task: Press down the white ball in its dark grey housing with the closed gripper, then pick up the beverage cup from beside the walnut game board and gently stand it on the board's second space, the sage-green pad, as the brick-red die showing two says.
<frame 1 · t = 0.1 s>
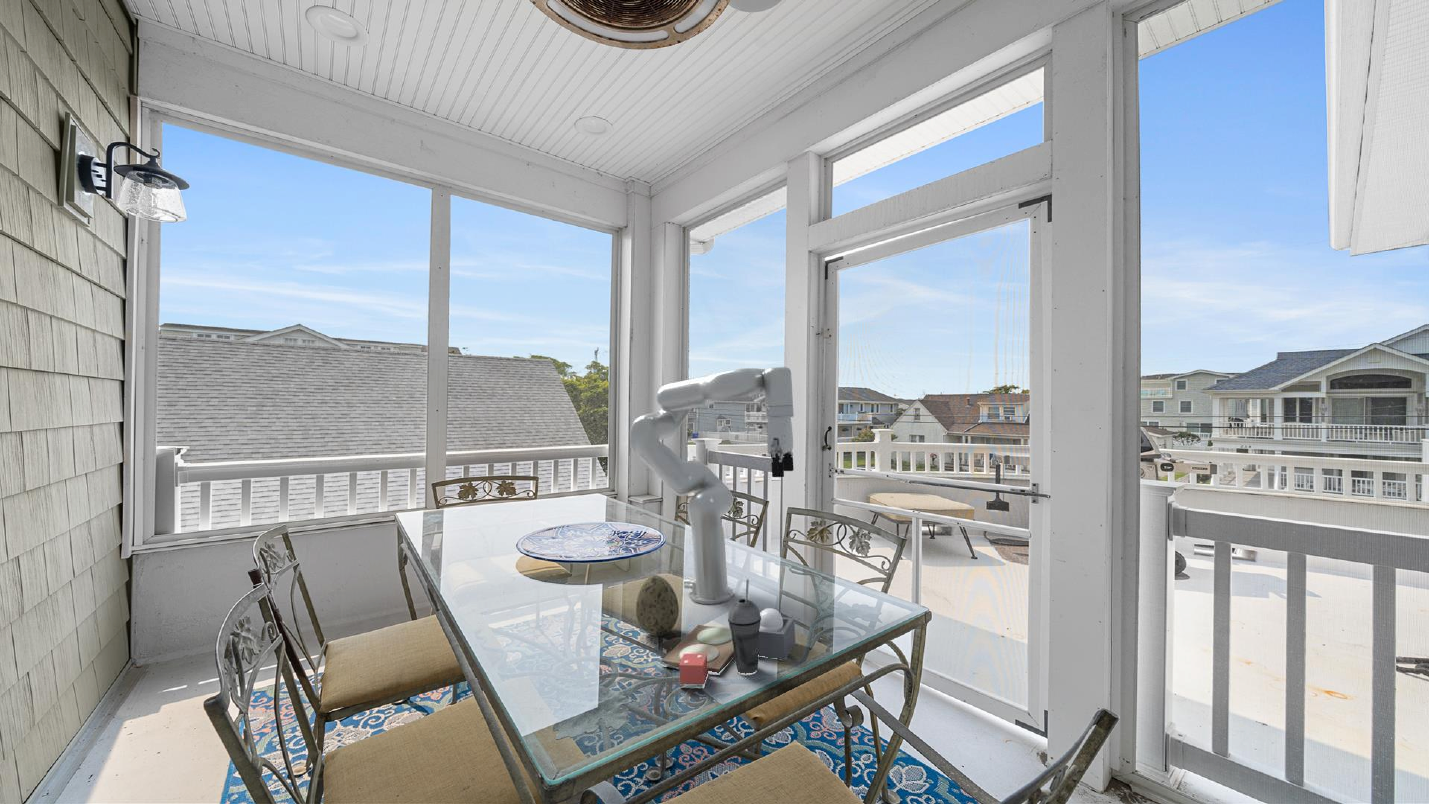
hand: (783, 473, 160), 37 cm above the table, tool pointing down, fingers open, 9 cm apart
die: (694, 682, 123), on the table
beverage cup: (747, 671, 126), on the table
decorative egg: (659, 634, 148), on the table
white ball: (770, 621, 136), point 7 cm above the table, slide at 0.0 cm
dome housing: (771, 649, 136), on the table
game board: (708, 651, 137), on the table
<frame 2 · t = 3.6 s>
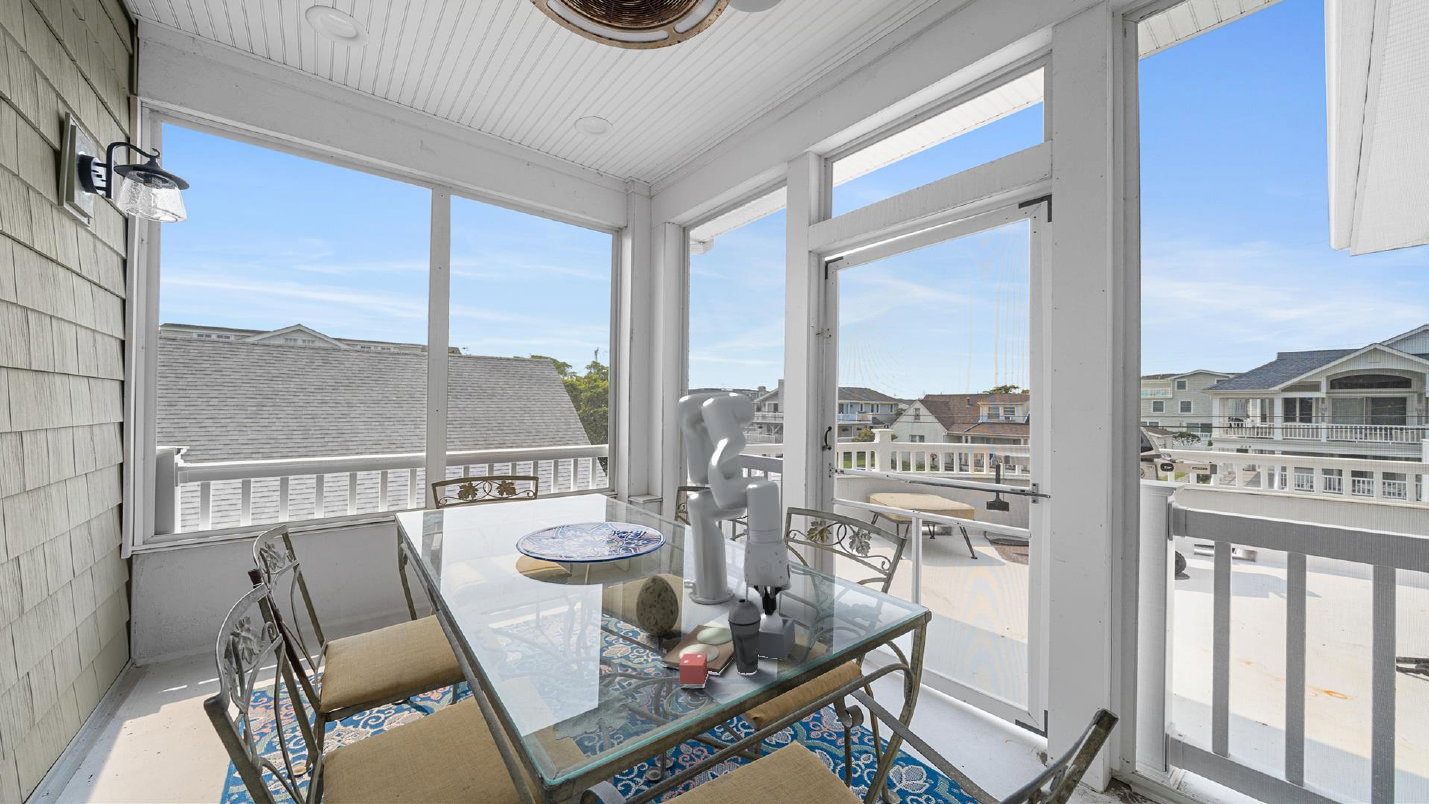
hand: (770, 612, 135), 9 cm above the table, tool pointing down, fingers closed
white ball: (770, 625, 136), point 6 cm above the table, slide at 0.8 cm, touching gripper
everything else where it was.
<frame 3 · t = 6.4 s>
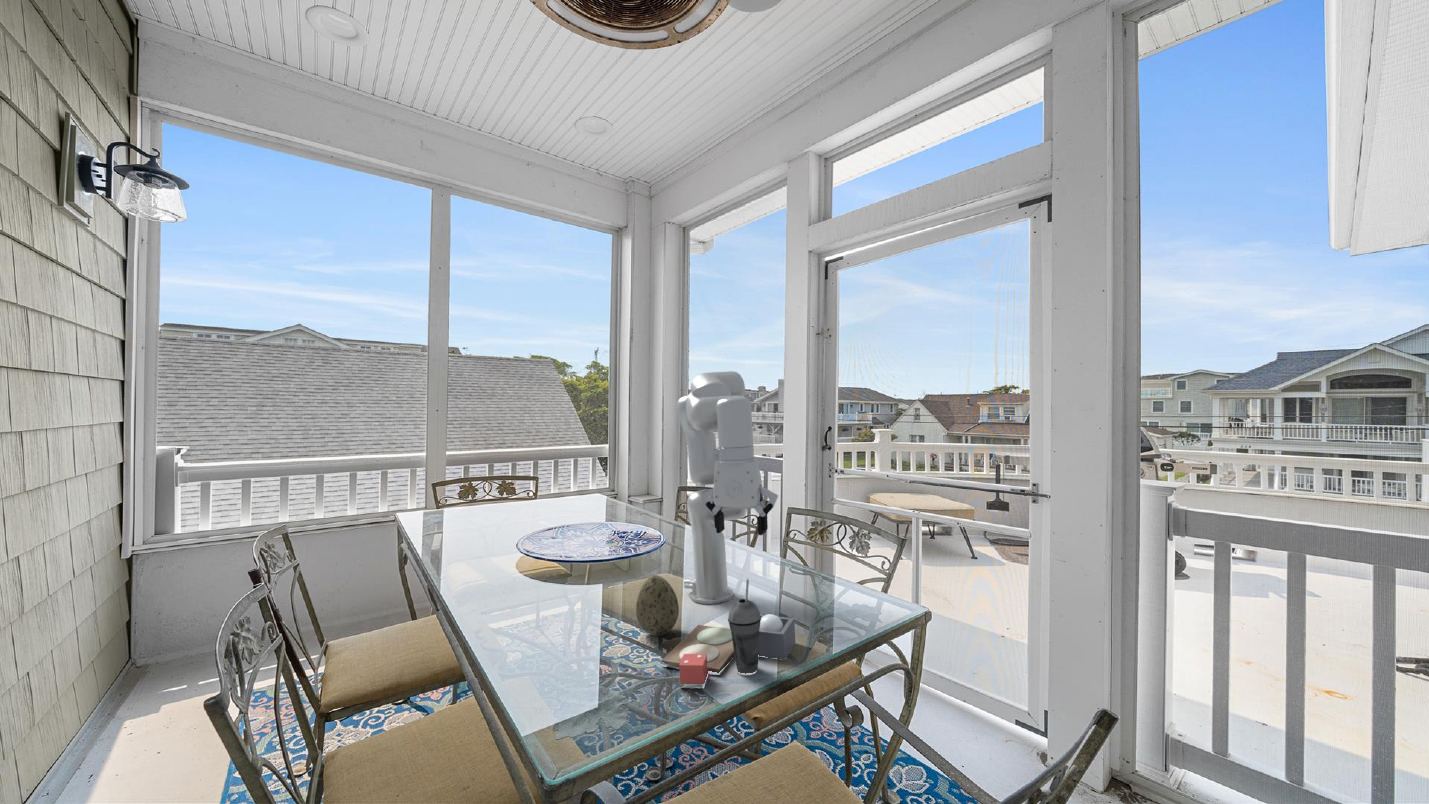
hand: (741, 532, 126), 30 cm above the table, tool pointing down, fingers open, 9 cm apart
white ball: (770, 627, 136), point 5 cm above the table, slide at 1.4 cm
everything else where it was.
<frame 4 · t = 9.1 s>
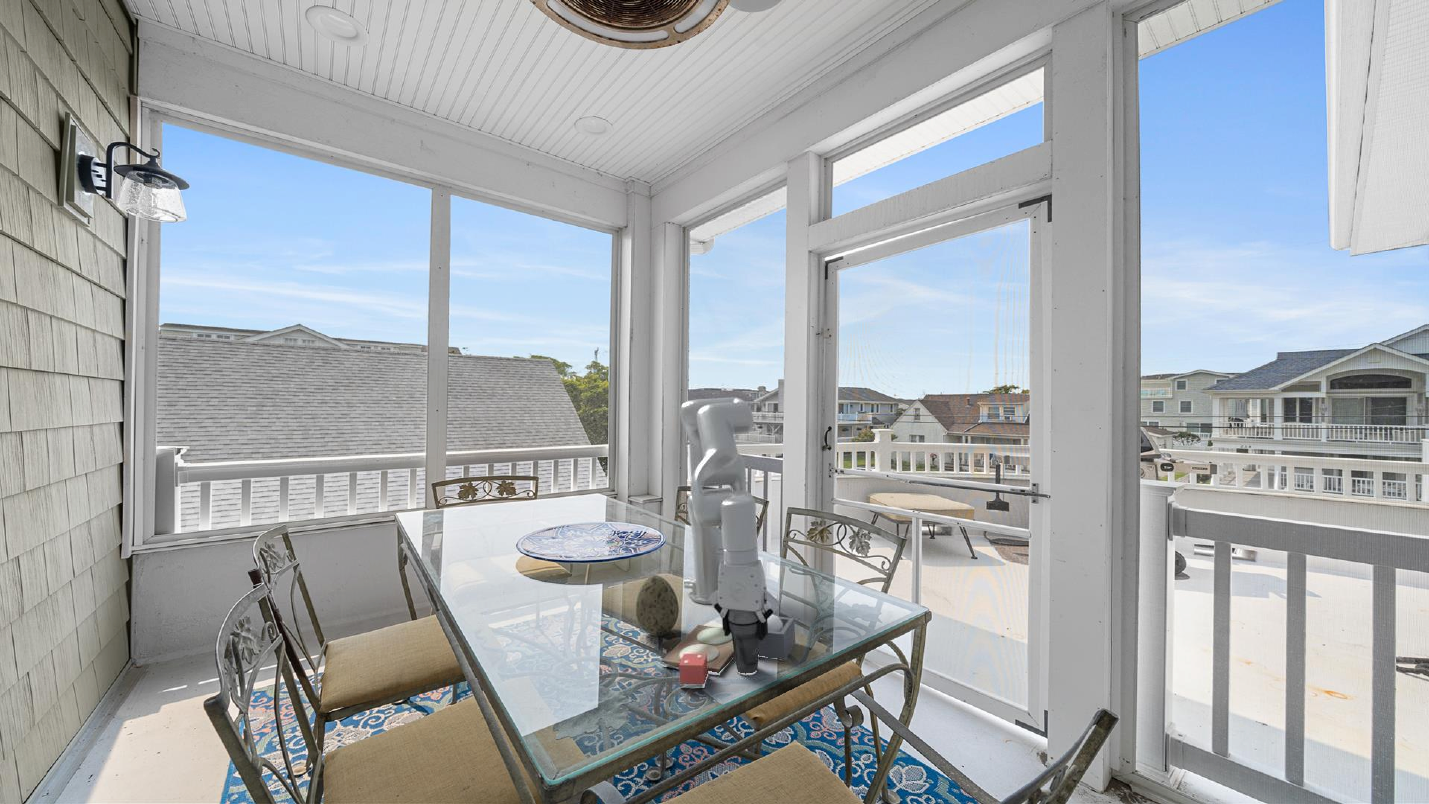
hand: (745, 635, 126), 8 cm above the table, tool pointing down, fingers closed on beverage cup, 7 cm apart
beverage cup: (747, 671, 126), on the table, touching gripper
everything else where it was.
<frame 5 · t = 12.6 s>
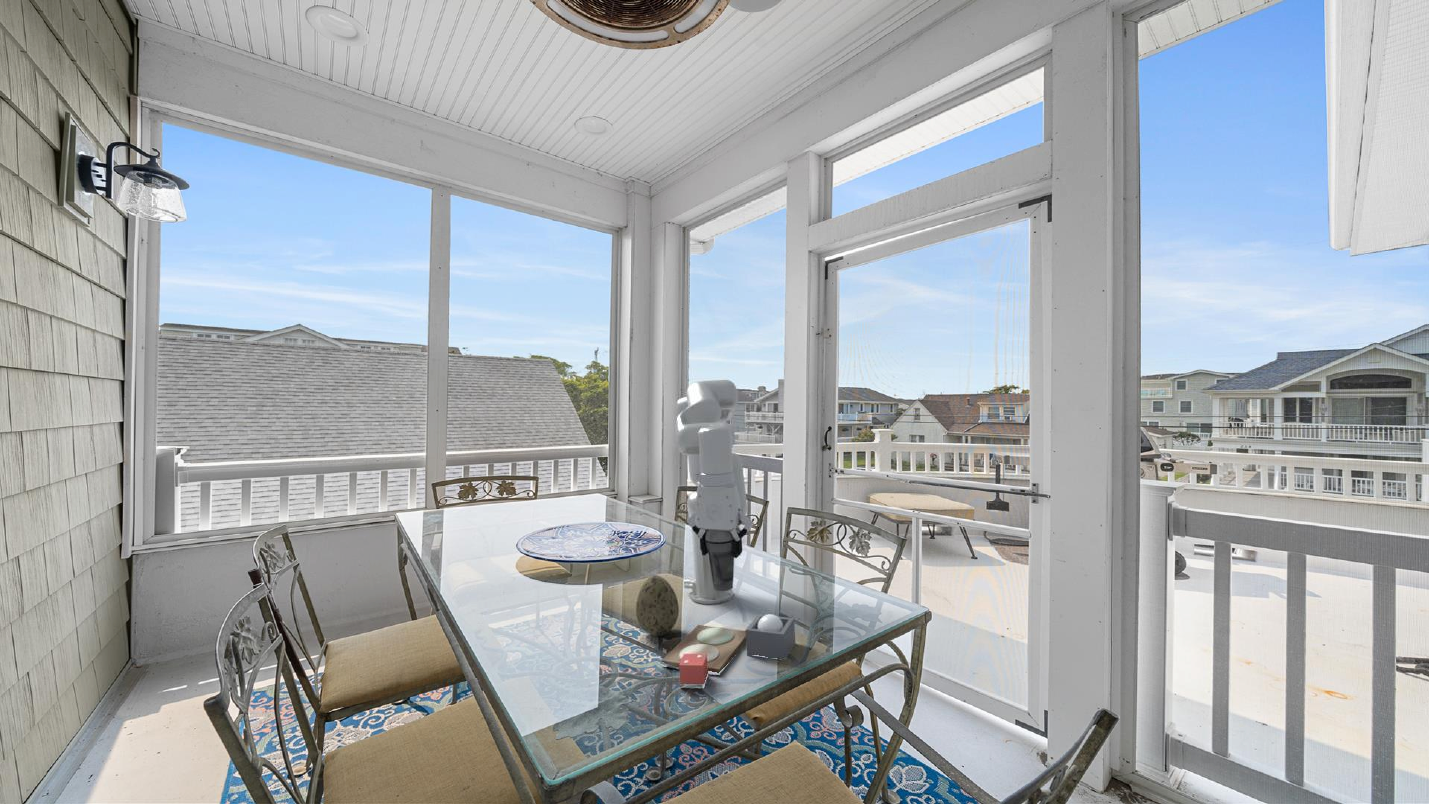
hand: (721, 554, 135), 23 cm above the table, tool pointing down, fingers closed on beverage cup, 7 cm apart
beverage cup: (723, 588, 135), point 15 cm above the table, touching gripper
everything else where it was.
when the fingers open (11 cm above the table, at t = 16.2 s): beverage cup stays where it is, resting on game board.
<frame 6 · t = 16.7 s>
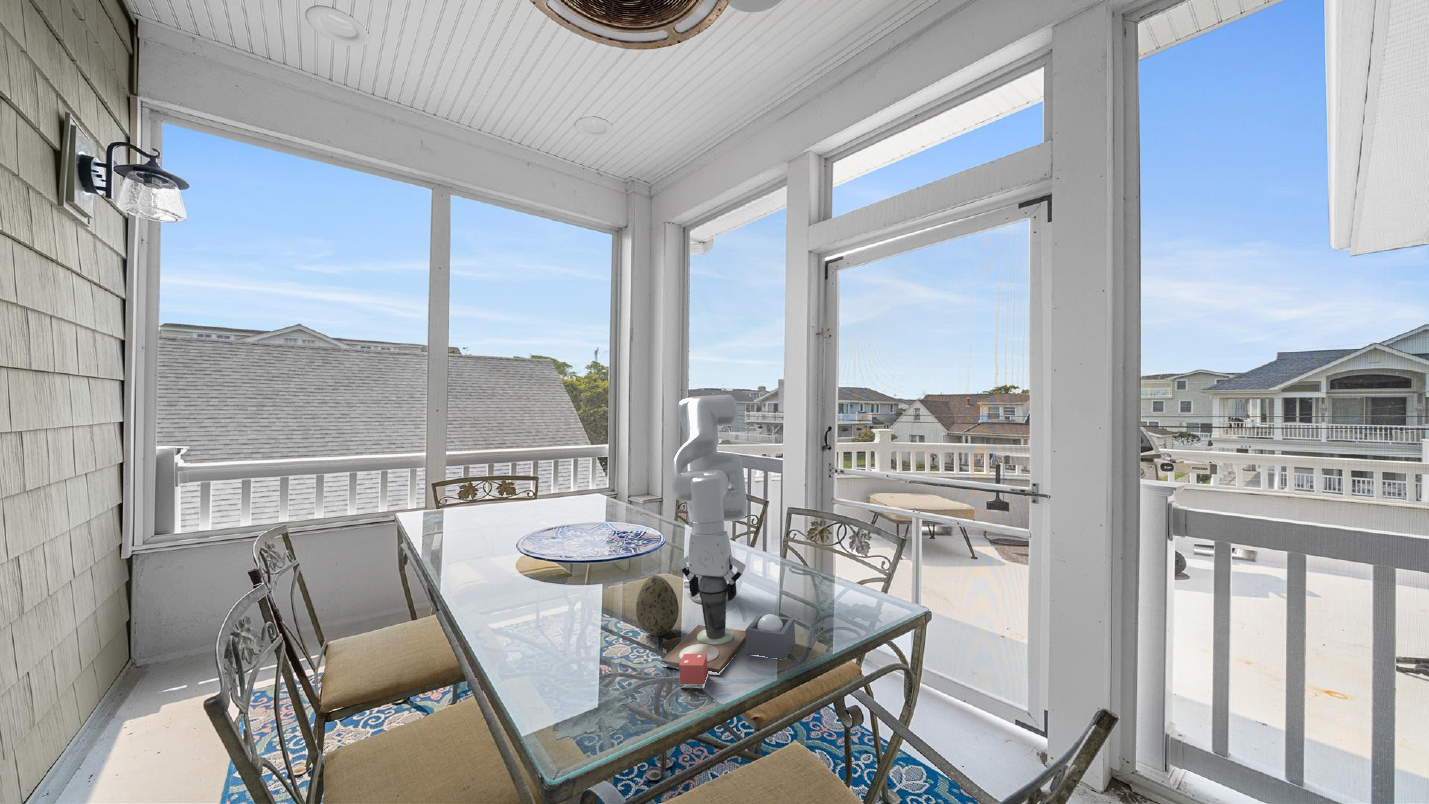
hand: (713, 596, 140), 11 cm above the table, tool pointing down, fingers open, 9 cm apart
beverage cup: (715, 635, 141), point 2 cm above the table, touching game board
everything else where it was.
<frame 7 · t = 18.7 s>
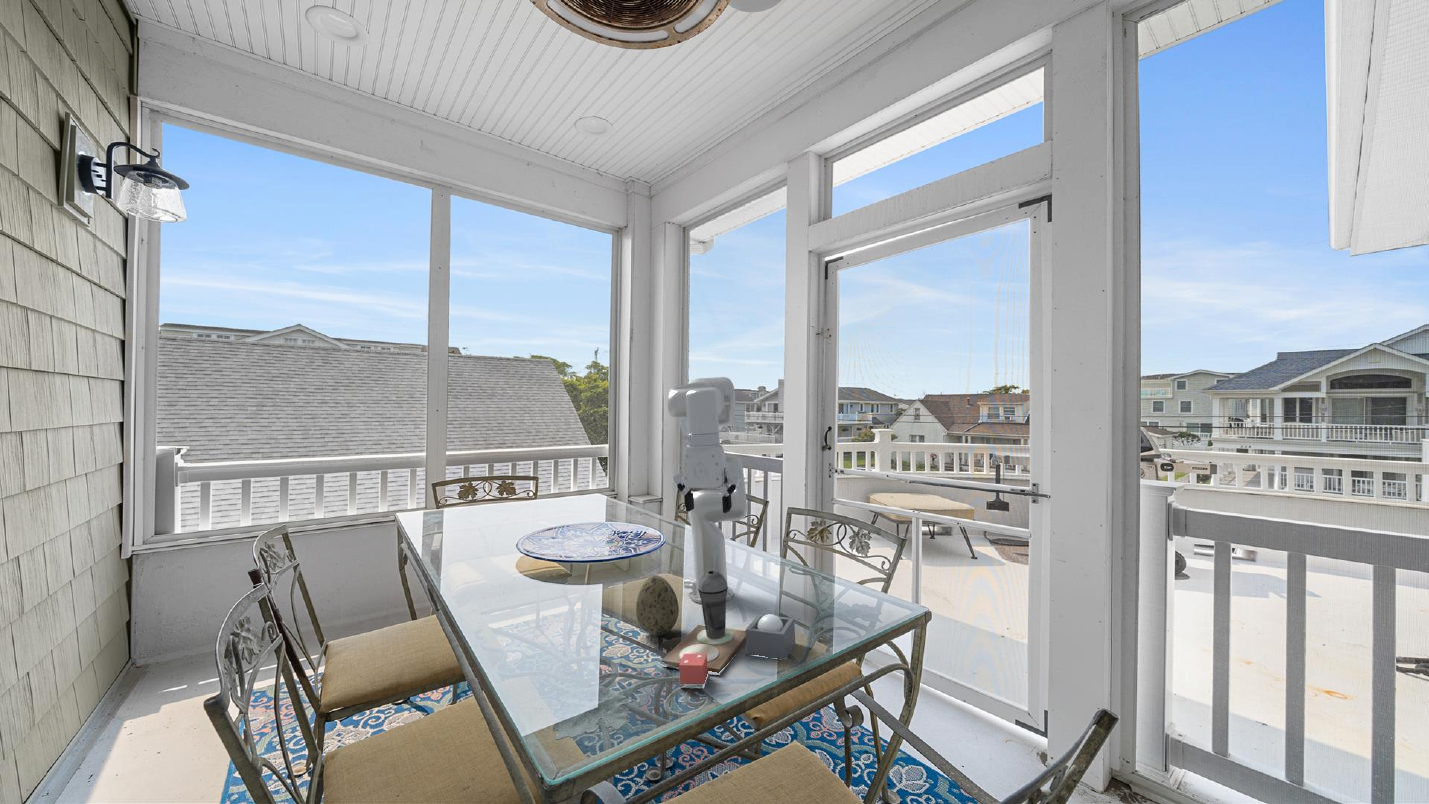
hand: (708, 511, 140), 32 cm above the table, tool pointing down, fingers open, 9 cm apart
nothing on the table moved.
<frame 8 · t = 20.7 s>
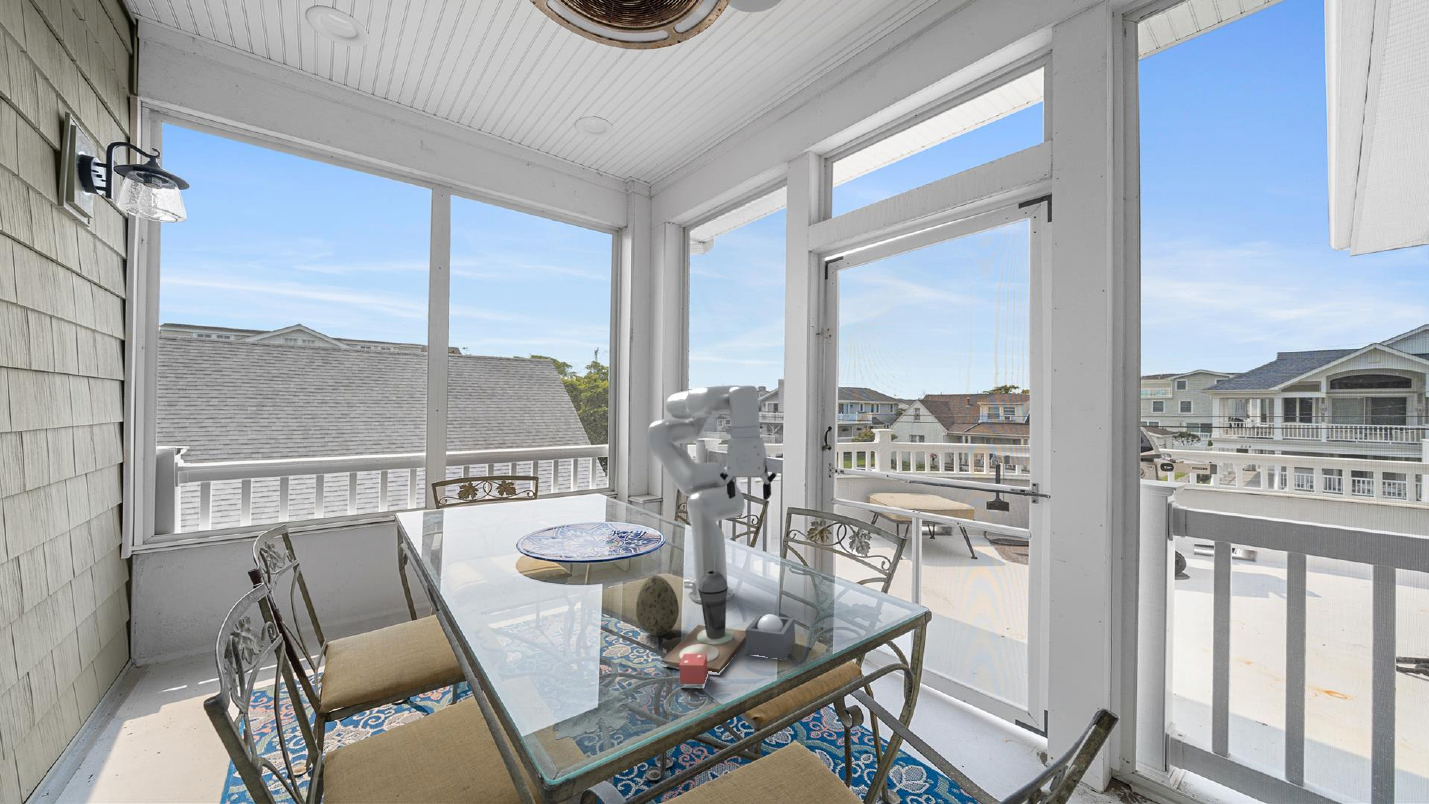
hand: (749, 498, 152), 32 cm above the table, tool pointing down, fingers open, 9 cm apart
nothing on the table moved.
at the end: beverage cup 0.3 cm from the target spot, point 1.6 cm above the table; beverage cup tilted 0°; white ball slide at 1.4 cm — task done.
